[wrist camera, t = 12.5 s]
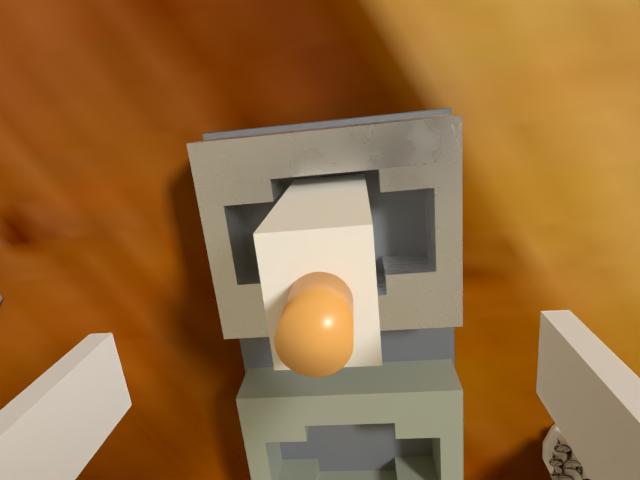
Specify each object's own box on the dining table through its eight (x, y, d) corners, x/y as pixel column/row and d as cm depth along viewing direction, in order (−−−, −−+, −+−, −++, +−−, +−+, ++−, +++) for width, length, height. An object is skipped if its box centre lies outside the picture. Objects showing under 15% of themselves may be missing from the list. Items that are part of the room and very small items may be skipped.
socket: (206, 138, 27) (186, 143, 24) (447, 113, 26) (462, 115, 22) (237, 313, 31) (223, 339, 27) (450, 301, 29) (462, 326, 26)
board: (209, 132, 28) (202, 134, 27) (446, 108, 27) (452, 108, 25) (271, 482, 37) (267, 497, 36) (451, 479, 36) (455, 495, 34)
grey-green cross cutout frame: (247, 368, 32) (235, 399, 29) (451, 359, 31) (462, 390, 27) (270, 495, 36) (261, 535, 32) (452, 492, 34) (463, 533, 31)
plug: (294, 179, 27) (231, 261, 13) (364, 173, 27) (377, 251, 13) (305, 266, 29) (259, 421, 15) (370, 261, 29) (388, 416, 15)
